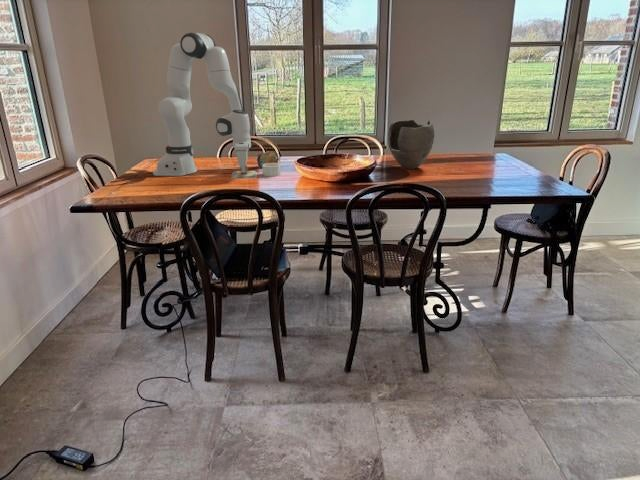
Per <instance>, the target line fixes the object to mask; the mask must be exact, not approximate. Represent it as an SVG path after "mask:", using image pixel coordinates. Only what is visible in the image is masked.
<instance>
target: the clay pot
mask: <svg viewBox="0 0 640 480" xmlns="http://www.w3.org/2000/svg"><path fill="white" fill-rule="evenodd" d="M387 136H388V137H387V141H388V142H387V143H388V148H389V151H390V153H391V155H392V157H393V159H394V160H395V161H396V163H398V165H400V166H401V167H403V168H404V169H408V170H409V169H410V170H415V169H418V168H419V167H420V166H422V164H423V163H425V161H426V160H427V158H428V156H429V154H430V153H431V151H432V149H433V144H434V141H435V128H434V124H433V122H432V121H431V120H428V121H427V125H423V124H418V123H417V122H416V121H415V119H404V120H403V119H402V120H395V121H394V122H391V124H390V125H389V128H388V134H387Z"/></svg>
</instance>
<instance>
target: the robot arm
mask: <svg viewBox="0 0 640 480" xmlns="http://www.w3.org/2000/svg"><path fill="white" fill-rule="evenodd" d="M180 38H181V39H180V41H179V42H180V43H176V44H174V45H173V46H172V48H171V49H170V54H169V59H168V66H167V67H168V68H167V75H166V77H167V78H166V84H167V86H168V92H169V93H168V94H169V95H168V96H167V97H164V98H162V99H161V100H160V101H159V102H158V105H157V112H158V114H159V116H160V117H162V120H163V123H164V125H165V129H166V133H167V140H168V144H167V145H166V147H165V154H164V155H163V156H162V157H161V158H160V159H158V161H157V162H156V169H154V170H153V171H152V175H153V176H154V177H155V176H158V177H159V176H161V177H162V176H164V177H167V176H168V177H171V176H172V177H173V176H174V177H182V176H185V175H190V174H194V173H197V172H198V169H197V167H196V164H195V160H194V156H193V155H194V150H193V145H192V142H191V133H190V129H189V127H188V124H187V122H186V119H185V117H186V116H187V115H189V113H191V111H192V108H193V104H192V100H191V77H192V71H193V70H192V69H193V63H194V60H195V59H199V60H201V59H202V60H203V61H204V63H205V67H206V72H207V78H208V82H209V85H210V86H211V88H213V89H214V90H216V91H217V92H220V93H222V94H224V95H225V96H226V97H227V100H228V103H229V106H230V111H231V112H230V113H228V114H226V115H224V116H221V117H219V118H217V120H216V122H215V129H216V131H217V134H219V136H222V137H230V136H231V137H232V142H233V143H232V144H233V145H232V146H233V148H234V151H235V153H236V159H237V164H238V166H239V167H240V166H241V167H240V170H241V169H242V173H245V166H246V165H247V163H248V162H247V161H248V158H249V157H248V156H249V155H248V151H250V148H251V147H252V141H251V138H252V137H251V133H250V131H251V130H250V129H251V124H250V117H249V114H248V112H247V111H245V110H244V108H243V103H242V100H241V97H240V93H239V89H238V85H236V83H235V82H234V79H233V77H232V76H233V75H232V73H231V67H230V62H229V58H228V55H227V52H226V50H225V49H224V48H223V47H221V46H217V44H216V41H215V40H214V38H213V37H212V36H210V35H209V34H205V33H203V32H187V33H184V35H183V36H182V37H180Z"/></svg>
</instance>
